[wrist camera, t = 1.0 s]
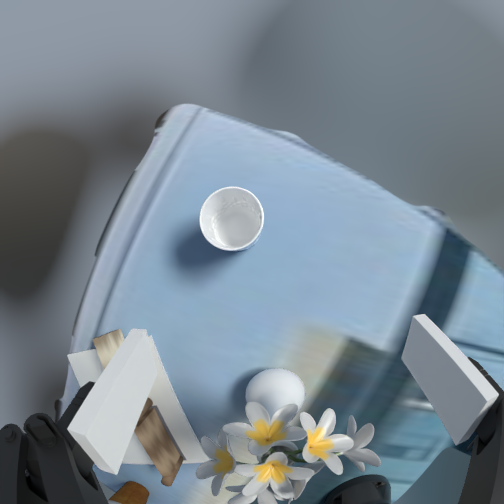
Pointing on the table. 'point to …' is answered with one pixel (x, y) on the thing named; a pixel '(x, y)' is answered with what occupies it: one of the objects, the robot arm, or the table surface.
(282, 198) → the table surface
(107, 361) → the hinged fence panel
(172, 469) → the fixed fence section
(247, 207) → the white cup
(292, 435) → the flower vase
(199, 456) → the board
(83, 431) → the robot arm
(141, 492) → the disposable coffee cup
